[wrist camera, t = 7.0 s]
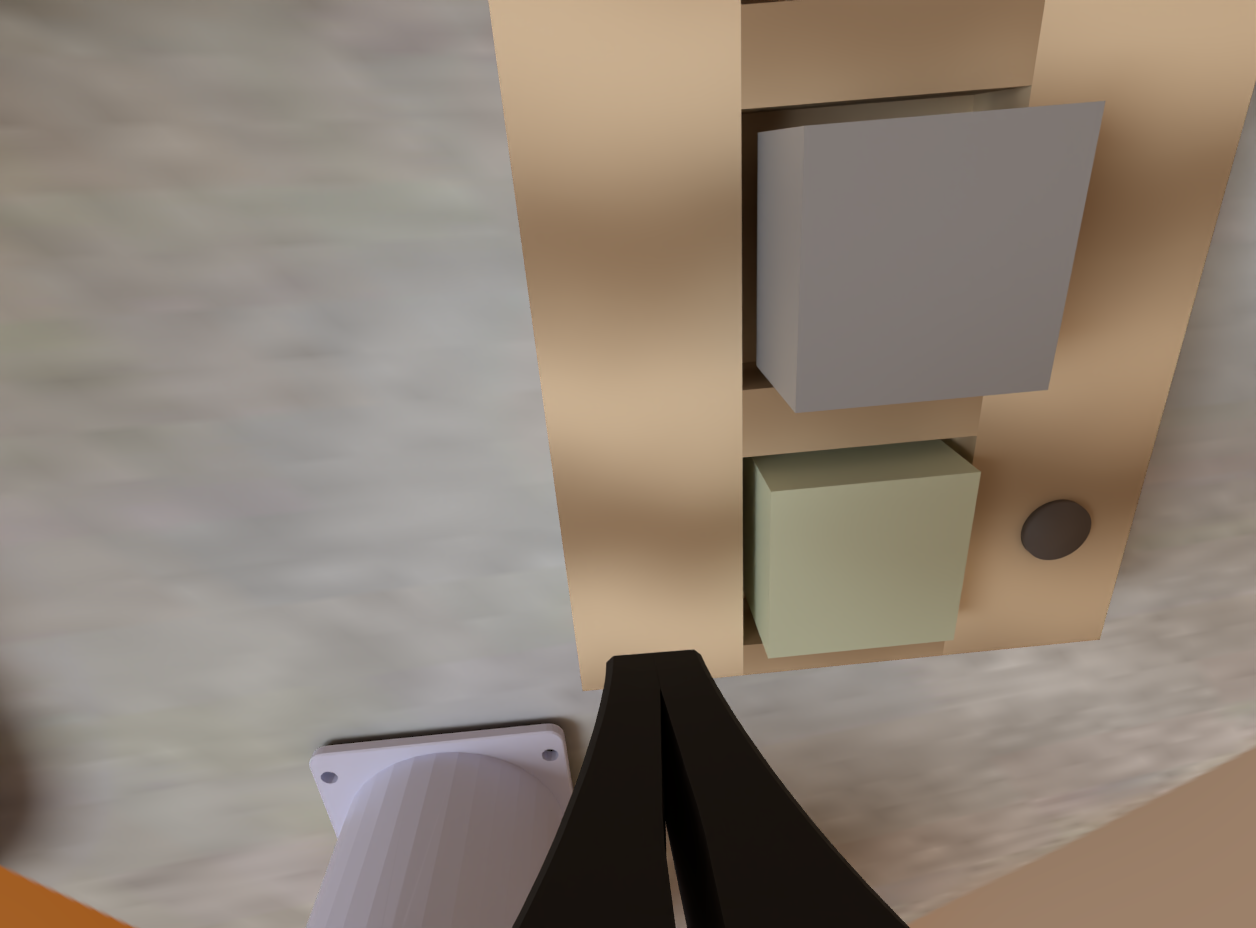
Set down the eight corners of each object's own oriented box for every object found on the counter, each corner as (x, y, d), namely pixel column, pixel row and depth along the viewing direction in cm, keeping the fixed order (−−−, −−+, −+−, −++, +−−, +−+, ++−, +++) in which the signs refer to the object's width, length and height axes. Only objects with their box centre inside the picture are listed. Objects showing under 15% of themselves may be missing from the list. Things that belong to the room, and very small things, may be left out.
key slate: (962, 346, 15) (1047, 389, 12) (756, 365, 15) (795, 413, 12) (995, 113, 13) (1105, 101, 10) (757, 132, 13) (804, 125, 10)
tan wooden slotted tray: (1042, 585, 20) (1104, 644, 18) (583, 630, 20) (582, 696, 18) (1276, -462, 11) (1468, -633, 9) (448, -407, 11) (408, -569, 9)
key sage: (901, 571, 19) (953, 639, 16) (742, 586, 19) (768, 658, 16) (918, 422, 17) (980, 472, 14) (741, 438, 17) (770, 491, 14)
